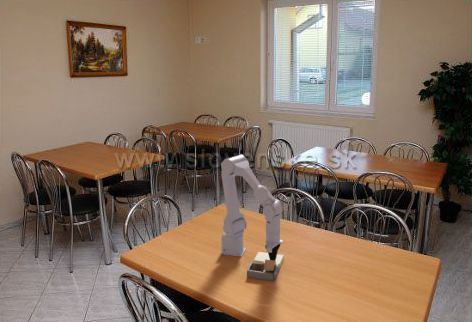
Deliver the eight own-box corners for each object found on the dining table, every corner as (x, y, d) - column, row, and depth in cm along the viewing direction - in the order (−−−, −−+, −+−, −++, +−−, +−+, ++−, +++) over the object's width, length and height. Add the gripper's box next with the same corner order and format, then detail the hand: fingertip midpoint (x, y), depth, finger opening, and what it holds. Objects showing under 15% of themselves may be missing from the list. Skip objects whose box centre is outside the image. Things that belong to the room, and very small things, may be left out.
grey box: (247, 277, 157) (247, 270, 156) (253, 265, 165) (253, 259, 164) (274, 281, 153) (274, 274, 152) (279, 269, 161) (279, 263, 161)
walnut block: (254, 268, 162) (252, 272, 160) (254, 260, 161) (252, 263, 159) (263, 270, 161) (262, 273, 158) (263, 261, 160) (262, 264, 157)
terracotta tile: (265, 270, 161) (263, 269, 159) (266, 260, 162) (265, 259, 160) (274, 271, 159) (273, 270, 157) (276, 261, 161) (274, 260, 158)
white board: (253, 265, 165) (253, 261, 164) (258, 255, 173) (258, 251, 173) (279, 269, 161) (279, 265, 161) (283, 259, 170) (283, 255, 169)
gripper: (279, 238, 152) (278, 270, 155) (286, 224, 165) (285, 253, 169) (261, 236, 154) (261, 268, 157) (269, 222, 167) (269, 251, 171)
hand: (272, 260), depth 163 cm, fingers closed
